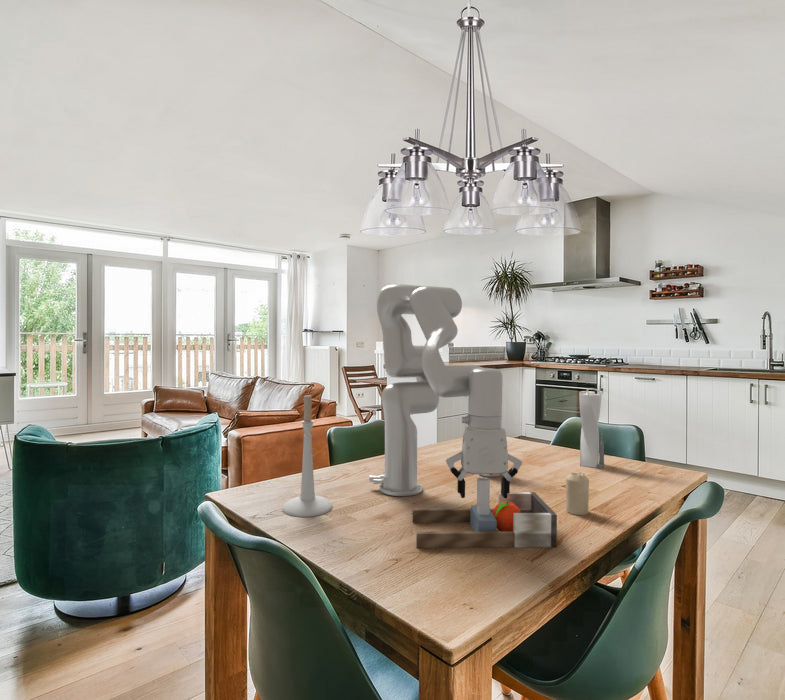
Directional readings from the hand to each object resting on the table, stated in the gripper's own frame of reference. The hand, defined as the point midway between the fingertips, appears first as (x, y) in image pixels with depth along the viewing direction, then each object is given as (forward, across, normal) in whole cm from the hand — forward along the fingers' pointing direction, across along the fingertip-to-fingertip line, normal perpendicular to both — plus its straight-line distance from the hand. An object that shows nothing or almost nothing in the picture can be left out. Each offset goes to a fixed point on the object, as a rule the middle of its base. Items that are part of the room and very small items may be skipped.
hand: (483, 496), depth 113 cm
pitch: (+8, -1, 0) cm, 8 cm away
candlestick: (+9, -43, +16) cm, 47 cm away
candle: (+9, +27, +14) cm, 32 cm away
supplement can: (+9, +12, +48) cm, 51 cm away
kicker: (+8, 0, 0) cm, 8 cm away
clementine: (+9, +5, 0) cm, 10 cm away
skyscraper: (+9, +50, +60) cm, 78 cm away
